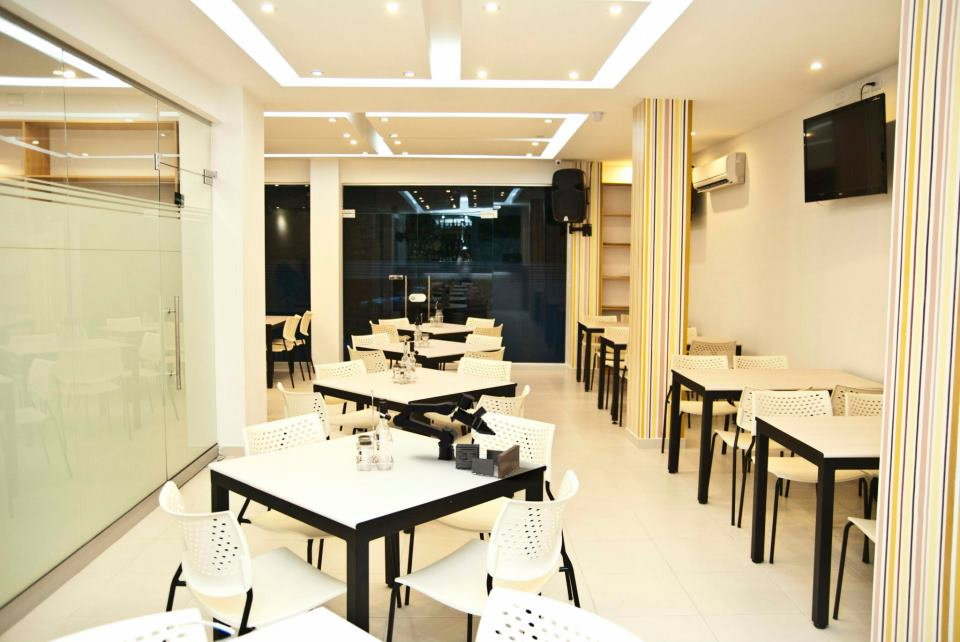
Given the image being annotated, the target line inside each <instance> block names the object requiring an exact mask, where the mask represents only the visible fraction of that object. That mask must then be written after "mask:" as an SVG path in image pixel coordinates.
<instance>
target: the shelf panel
mask: <svg viewBox="0 0 960 642" xmlns="http://www.w3.org/2000/svg"><path fill="white" fill-rule="evenodd" d="M520 447H521V445H519V444H514V445H513V446H512V447H509V448H507V449H506V450H503V451H504V452H503V453H501V454H500V455H498V466H497V471H498V472H497V479H499V478H500V480H502V479H505V478H506V477H507V476H508V475H510V474H511V473H513V472H514V471H515V470H514V469H516V468H517V467H518V468H520V451H521V450H520ZM518 468H517V469H518ZM517 469H516V470H517ZM513 470H514V471H513ZM512 471H513V472H512ZM510 472H511V473H510ZM509 473H510V474H509ZM506 475H507V476H506ZM505 476H506V477H505Z"/></svg>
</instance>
